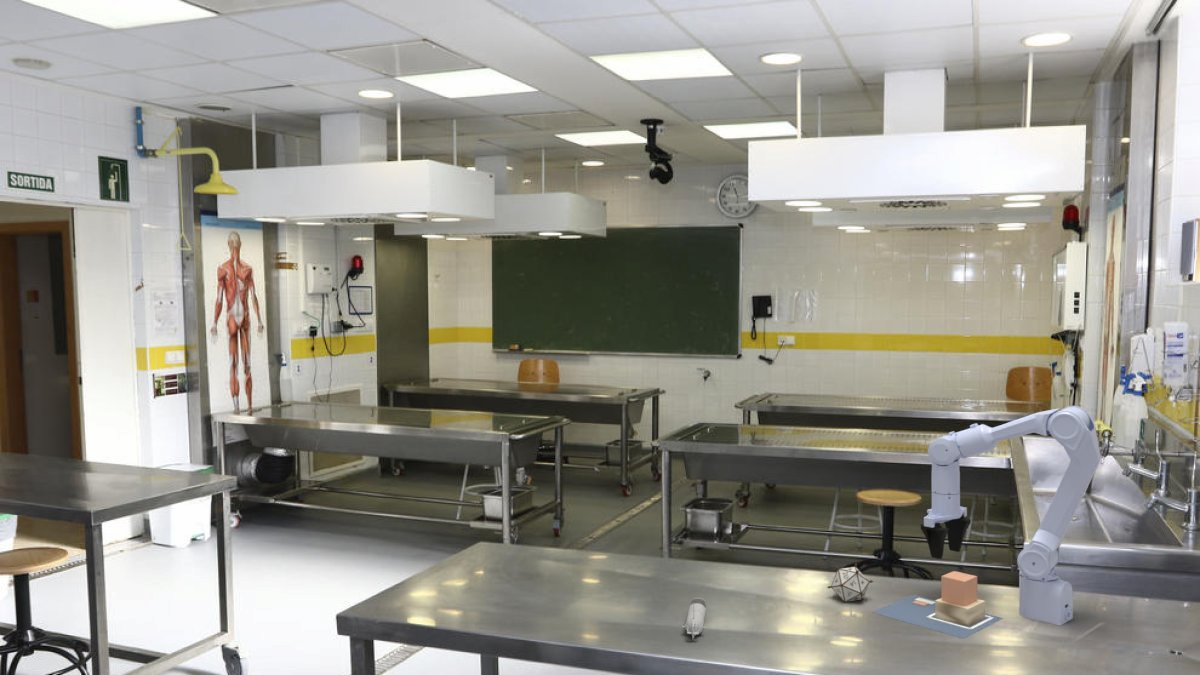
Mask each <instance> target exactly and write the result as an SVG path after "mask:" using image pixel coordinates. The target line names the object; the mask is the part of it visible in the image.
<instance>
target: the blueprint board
mask: <svg viewBox="0 0 1200 675" xmlns="http://www.w3.org/2000/svg"><path fill="white" fill-rule="evenodd" d="M935 600H936V599H931V598H927V597H924V596H919V595H916V594H912V595H909V596H907V597H905V598H904V597H903V598H902V599H900V600H897V601H895V602H893V603H891V604H888V605H886V606H884V607H881V608H879V609H875V610H874V611H872V612H871V613H874V614H877V615H880V616H884V617H886V618H890V619H894V620H898V621H901V622H904V623H908V624H911V625H914V626H918V627H922V628H925V629H929V630H932V631H935V632H939V633H943V634H946V635H949V636H954V637H955V638H959V639H966V638H968V637H970V636H971V635H974V634H976V633H977V632H980V631H981V630H983V629H985V628H987V627H989V626H991V625H994V624H995V623H997V622H999V621H1000V620H1003V619H1004V618H1003V617H1001V616H997V615H993V614H989V613H986V612H985V618H984V619H982V620H980V621H978V622H976V623H974V624H972V625H970V626H964V625H961V624H957V623H953V622H950V621H946V620H943V619H939V618H935Z"/></svg>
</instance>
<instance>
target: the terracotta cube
mask: <svg viewBox="0 0 1200 675" xmlns="http://www.w3.org/2000/svg"><path fill="white" fill-rule="evenodd" d="M940 577H941V582H940V583H941V585H940V586H941V591H940V592H941V597H940V598H942V601H946V602H950V603H954V604H957V605H961V606H967V605H969V604H971V603H973V602H975V601H977V599H978V576H977V575H974V574H973V575H972V574H968V573H963V572H960V571H956V570H953V571H951V572H948V573H946V574H944V575H941V576H940Z"/></svg>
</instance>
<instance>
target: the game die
mask: <svg viewBox="0 0 1200 675" xmlns="http://www.w3.org/2000/svg"><path fill="white" fill-rule="evenodd" d="M835 569H837V571H836V573H835V576H834V578H833V581H832V583H831V585H828V586H827V589H832V590H833V591H834V592H835V593H836V595H838V596H839V598H840V599H841V600H842V601H843V603H847V602H854V601H855V602H856V601H861V600H862V601H863V600H864V596H865V594H866V592H867V590H868V587H869V585H870V583H873V582H874V580H873V579H870V580H869V579H868V578H867V577H866V576H865V575H864V574H863V573H862V572H861V571H860V569H858V564H857V562H856V563H855V564H854V566H851V567H849V566H848V567H841V568H839V566H838V565H835Z"/></svg>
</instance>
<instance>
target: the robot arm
mask: <svg viewBox="0 0 1200 675" xmlns="http://www.w3.org/2000/svg"><path fill="white" fill-rule="evenodd" d="M1033 433H1035V434H1037V435H1038V434H1039V435H1041V436H1045V437H1047V436H1049V435H1051V436H1052V438H1053V439H1054V440H1055V441H1057V443H1059V444H1060V446H1061V447H1063V449H1064V450H1065V452H1066V454H1067V456H1068V458H1069V459H1070V462H1069V463H1068V467H1067V468H1066V470H1065V472H1064V474H1063V476H1062V478H1061V481H1060V482H1059V485H1058V487H1057V489H1056V492H1055V494H1054V495H1053V498H1052V499H1051V501H1050V504H1049V506H1048V508H1047V510H1046V512H1045V514H1044V516H1043V518H1042V520H1041V522H1040V525H1039V527H1038V529H1037V530H1036V532H1035V534H1034V535H1033V537H1032V539H1031V540H1030V542H1029V543H1028V544H1027V546H1026V547H1025V548H1023V549H1022V550H1021V551H1020V552H1019V554H1018V556H1017V558H1016V559H1017V560H1016V562H1017V563H1016V564H1017V565H1018V569H1019V572H1018V574H1019V575H1018V576H1019V579H1018V580H1019V581H1018V582H1019V584H1018V585H1019V586H1018V587H1019V588H1018V589H1019V591H1018V592H1019V596H1018V597H1019V598H1018V599H1019V604H1018V605H1019V606H1018V608H1019V609H1018V613H1019V615H1020V616H1021V617H1023V618H1025V619H1029V620H1031V621H1037V622H1043V623H1047V624H1051V625H1055V626H1056V625H1057V626H1062V625H1064V624H1066V623H1067V622H1069V621H1071V620H1073V619H1074V593H1073V592H1074V591H1073V586H1072V583H1070V581H1066V580H1063V579H1062V578H1060V577H1059V573H1058V571H1057V569H1056V567H1055V566H1056V565H1058V564H1059V561H1060V557H1061V552H1060V548H1061V546H1062V544H1063V541H1064V536H1065V534H1066V532H1067V530H1068V528H1069V526H1070V524H1071V522H1072V520H1073V517H1074V515H1075V514H1076V512H1077V509H1078V508H1079V505H1080V503H1081V501H1082V499H1083V497H1084V496H1085V493H1086V491H1087V490H1088V487H1089V484H1090V483H1091V481H1092V479H1093V477H1094V475H1095V473H1096V471H1097V469H1098V467H1099V464H1100V462H1101V458H1102V454H1101V450H1100V446H1099V441H1098V436H1097V426H1096V423H1095V422H1094V420H1093V418H1092V417H1091V415H1090V414H1089V413H1088V411H1087V410H1085V409H1084V408H1083V407H1080V406H1077V405H1068V406H1065V407H1064V408H1062V409H1060V408H1053V409H1048V410H1045V411H1044V410H1043V411H1039V412H1035V413H1032V414H1029V415H1027V416H1024V417H1021V418H1018V419H1015V420H1011V421H1009V422H1006V423H1003V424H1001V425H997V426H994V427H991V426H988V425H987V424H984V423H981V424H980V425H979V424H978V423H973V424H971V425H969V428H966V429H964V430H963V429H962V430H960V431H957V432H955V431H954V430H953V431H950V432H948V435H942V436H941V437H938V438H935V439H934V440H933V441H932V442H931V443H930V444H929V446H928V449H927V453H928V456H929V459H930V460H931V508H929V509H926V513H927V515H926V516H924V517H923V522H922V523H920V530H921V532H922V533H923V534H924V537H925V539H926V541H927V546H928V549H929V553H930V557H931V558H934V559H936V560H937V559H938V560H941V559H943V556H944V547H945V541H946V537H947V543H948V549H949V551H952V552H956V553H960V552H961V549H962V546H963V541H964V537H965V536H966V535H965V534H966V533H967V530H968V528H969V526H970V524H971V523H972V520H971V518H968V517H967V516H968V507H966V506H965V507H964V506H961V486H960V485H961V471H960V459H963V460H966V459H968V458H971V457H975V456H979V455H982V454H985V453H988V452H992V451H994V449H995V448H996V446H997V444H998V442H1000V443H1001V442H1003V441H1006V440H1007V441H1008V440H1012V439H1014V438H1017V437H1021V436H1022V437H1023V436H1025V435H1029V434H1033ZM943 523H944V525H945V527H943V526H942V525H941V524H943Z"/></svg>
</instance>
